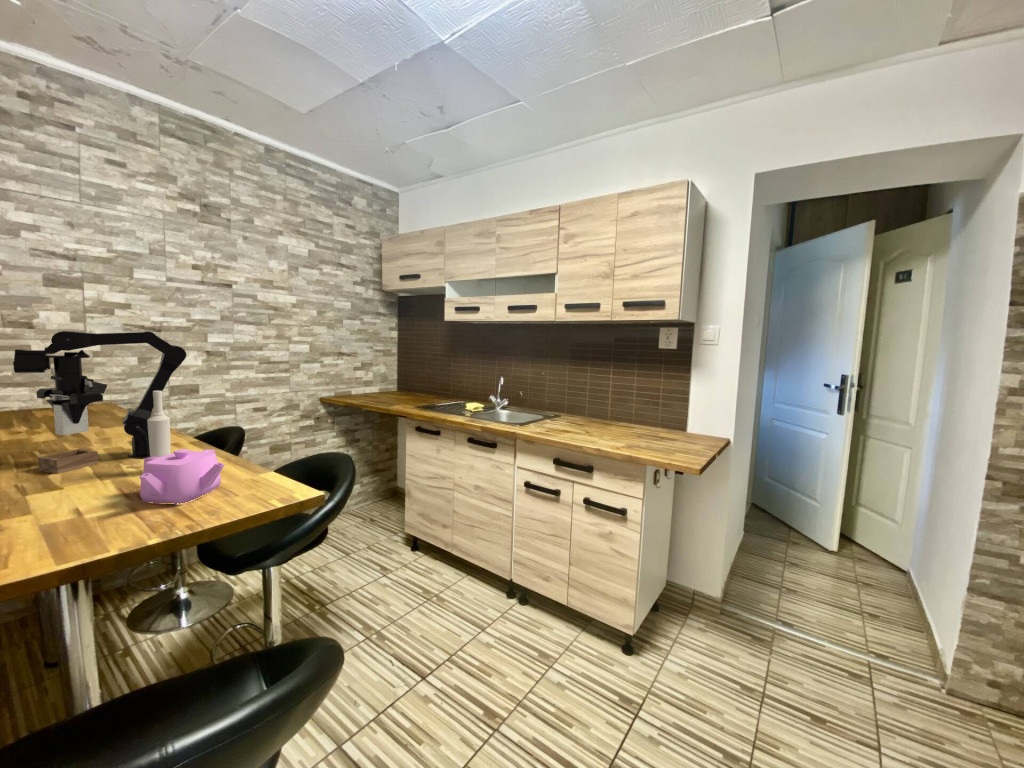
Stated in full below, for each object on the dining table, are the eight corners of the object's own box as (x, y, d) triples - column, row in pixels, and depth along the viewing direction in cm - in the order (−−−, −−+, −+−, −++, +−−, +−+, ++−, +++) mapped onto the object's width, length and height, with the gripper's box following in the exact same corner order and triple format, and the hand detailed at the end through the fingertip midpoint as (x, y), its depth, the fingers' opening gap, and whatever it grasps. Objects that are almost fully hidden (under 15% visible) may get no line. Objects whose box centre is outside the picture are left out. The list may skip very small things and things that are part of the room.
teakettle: (216, 478, 120) (214, 438, 119) (227, 497, 108) (225, 453, 107) (138, 492, 108) (136, 447, 107) (141, 514, 96) (138, 464, 95)
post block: (98, 463, 127) (97, 451, 126) (57, 473, 117) (56, 460, 117) (80, 461, 128) (79, 448, 128) (39, 470, 119) (38, 457, 118)
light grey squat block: (88, 431, 127) (87, 402, 126) (63, 435, 121) (61, 405, 120) (80, 429, 127) (79, 401, 126) (55, 433, 122) (53, 404, 121)
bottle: (145, 472, 121) (141, 391, 119) (165, 468, 126) (161, 389, 123) (156, 475, 120) (152, 393, 117) (176, 470, 125) (172, 391, 122)
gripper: (122, 373, 127) (124, 421, 129) (80, 368, 132) (83, 415, 134) (77, 375, 117) (80, 428, 119) (33, 370, 121) (37, 421, 123)
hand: (71, 422), depth 124 cm, fingers closed on light grey squat block, 3 cm apart
